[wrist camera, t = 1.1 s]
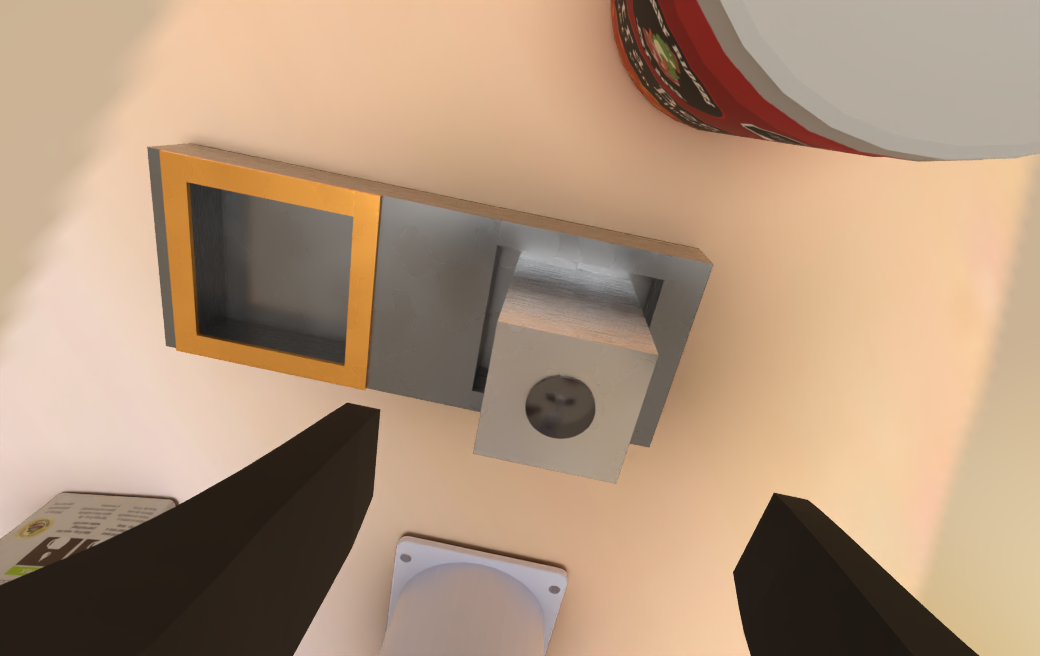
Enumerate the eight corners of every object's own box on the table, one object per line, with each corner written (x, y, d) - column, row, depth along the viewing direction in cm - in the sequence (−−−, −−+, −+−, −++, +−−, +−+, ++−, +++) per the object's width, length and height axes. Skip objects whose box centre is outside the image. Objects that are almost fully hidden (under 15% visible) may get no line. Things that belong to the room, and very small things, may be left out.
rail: (641, 417, 21) (649, 450, 19) (201, 325, 21) (163, 347, 19) (698, 248, 18) (714, 265, 16) (190, 143, 18) (143, 147, 16)
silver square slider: (602, 379, 20) (616, 486, 14) (499, 357, 20) (472, 455, 14) (631, 281, 18) (659, 356, 12) (519, 257, 18) (496, 323, 12)
